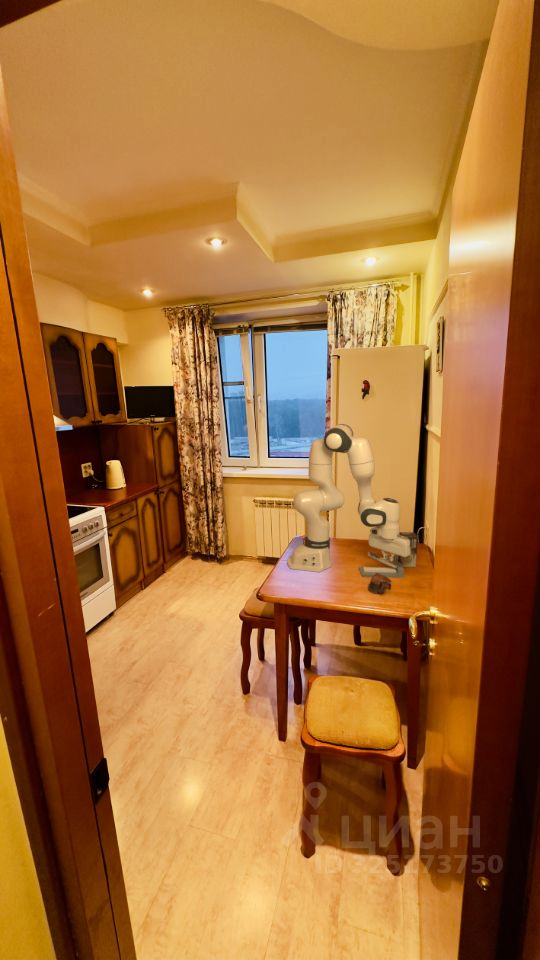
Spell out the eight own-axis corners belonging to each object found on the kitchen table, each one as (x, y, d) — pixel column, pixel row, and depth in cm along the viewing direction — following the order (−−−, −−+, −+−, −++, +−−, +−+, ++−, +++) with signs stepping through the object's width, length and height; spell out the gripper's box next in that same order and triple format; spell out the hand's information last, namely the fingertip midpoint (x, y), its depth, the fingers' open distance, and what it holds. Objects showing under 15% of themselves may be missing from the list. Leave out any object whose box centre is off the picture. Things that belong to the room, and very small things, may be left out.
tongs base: (361, 576, 171) (362, 568, 170) (358, 568, 179) (359, 560, 178) (405, 577, 170) (405, 569, 169) (400, 569, 177) (400, 561, 176)
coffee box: (412, 561, 186) (414, 532, 182) (416, 567, 179) (418, 537, 176) (394, 561, 186) (396, 531, 183) (397, 566, 180) (399, 536, 176)
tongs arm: (398, 567, 175) (399, 564, 174) (400, 570, 171) (401, 567, 171) (367, 553, 174) (368, 550, 174) (368, 556, 171) (370, 554, 170)
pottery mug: (363, 586, 164) (371, 569, 164) (382, 595, 164) (389, 578, 164) (372, 593, 152) (380, 576, 152) (392, 603, 152) (400, 585, 152)
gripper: (413, 536, 163) (412, 564, 166) (374, 525, 178) (373, 551, 181) (406, 539, 159) (405, 568, 162) (367, 528, 174) (366, 555, 177)
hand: (388, 559), depth 172 cm, fingers closed
